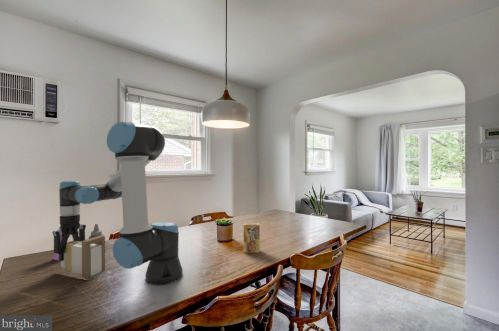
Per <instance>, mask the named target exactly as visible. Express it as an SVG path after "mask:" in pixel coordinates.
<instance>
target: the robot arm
mask: <svg viewBox="0 0 499 331" xmlns="http://www.w3.org/2000/svg"><path fill="white" fill-rule="evenodd" d="M106 136H107V137H106V144H107V148H108V150H109V151H110V152H112V153H113V154H114V158H115V160H116V161H117V162H119V169H118V170H117V171H116V172H115V174H114V175H113V176H112V177H111V178H110V179H109V180H108V181H107V183H106V184H94V185H93V184H92V185H81V182H80V181H79V180H64V181H63V180H62V181H61V182H60V183H59V188H58V191H59V195H58V196H59V225H60V226H59V228H58V230H53V231H52V235H53V253H54V254H55V253H57V254H59V260H58V261H60V267H63V268H66V267H67V253H65V249H66V244H67V241H69V238H70V236H71V237H72V240H74V241H81V242H82V241H84V240H86V229H87V228H86V226H87V224H81V223H80V222H81V214H80V213H81V204H82V205H87V204H88V205H89V204H93V203H95V202H101V201H108V200H116V199H117V200H118V199H120V198H121V203H122V205H121V206H122V220H123V225H122V227H121V229H120V230H119V231H118V232H119V238H117V239H115V241H114V242H113V244H112V253H113V258H114V259H115V261H116V262H117V264H118V265H119V266H120V267H122V268H124V269H133V268H136V267H140V266H142V265H143V264H145V263H147V262H149V263H148V264H147V268H146V271H145V281H146V283H148V284H149V285H156V286H157V285H158V286H160V285H162V286H163V285H167V284H171V283H173V282H176V281H178V280H179V279H181V278H182V277H183V272H184V271H183V266H182V265H181V264H182V262H181V260H180V257H179V234H180V233H179V226H178V225H177V223H174V222H164V221H163V222H153V223H149V213H148V212H149V211H148V195H147V194H148V193H147V179H146V178H147V175H146V167H147V166H148V165H149V164H150V163H151V162H153V161H156V159H158V157H160V156H161V154H162V153H163V151H164V149H165V145H166V140H165V136H164V135H163V133H162V131H161V130H160V129H158V128H157V127H155V126H151V125H146V124H140V123H135V122H131V121H118V122H116V123H115V124H113V125H112V126H111V127H110V128H109V130H108V133H107V135H106ZM61 232H62V236H61V237H62V239H61V237H60V234H61ZM65 235H66V236H65ZM60 242H61V243H60Z"/></svg>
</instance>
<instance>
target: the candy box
mask: <svg viewBox="0 0 499 331" xmlns="http://www.w3.org/2000/svg"><path fill="white" fill-rule="evenodd" d="M260 228H261V227H260V223H259V222H257V223H249V222H248V223H243V253H260V244H261V242H260V235H261V234H260V233H261V232H260V231H261V229H260Z"/></svg>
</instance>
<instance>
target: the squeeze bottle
mask: <svg viewBox="0 0 499 331" xmlns="http://www.w3.org/2000/svg"><path fill="white" fill-rule="evenodd" d="M97 236H105V235H104V233H103V231H102V230H100V228H99V224H98V223H95V224H94V227H93V230H92V231H91V232H90V236H89V237H88V239H90V238H94V237H97ZM93 244H97V242H96V243H93ZM106 251H107V250H106V249H105V252H106Z"/></svg>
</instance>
